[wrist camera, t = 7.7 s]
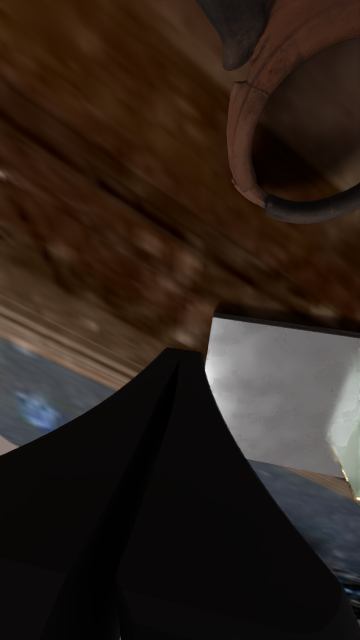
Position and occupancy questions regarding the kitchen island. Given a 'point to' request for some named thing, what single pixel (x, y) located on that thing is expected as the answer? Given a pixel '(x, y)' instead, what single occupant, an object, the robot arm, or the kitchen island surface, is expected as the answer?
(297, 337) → the chassis
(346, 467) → the pale green block
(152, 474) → the robot arm
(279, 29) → the pottery mug
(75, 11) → the kitchen island surface
